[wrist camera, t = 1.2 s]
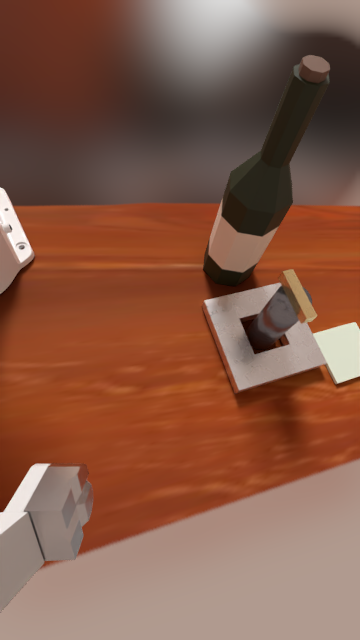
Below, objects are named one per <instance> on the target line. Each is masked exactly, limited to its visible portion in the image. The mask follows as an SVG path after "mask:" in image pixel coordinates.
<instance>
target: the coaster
mask: <svg viewBox="0 0 360 640" xmlns="http://www.w3.org/2000/svg"><path fill="white" fill-rule="evenodd" d="M313 336H314V338H315V340H316V342H317V344H318V346H319V348H320V350H321V352H322V354H323V356H324V358H325V360H326V362H327V363H326V364H325V365H326V367H327V369H328V371H329V373H330V375H331V377H332V379H333V381H334V383H335V384H338V383H341V382H344V381H347V380H350V379H353V378H356V377H359V376H360V329H359V328H358V326H357V324H356V322H353V323H349V324H346V325H342V326H339V327H335V328H332V329H328V330H325V331H321V332H318V333H314V334H313Z"/></svg>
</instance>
